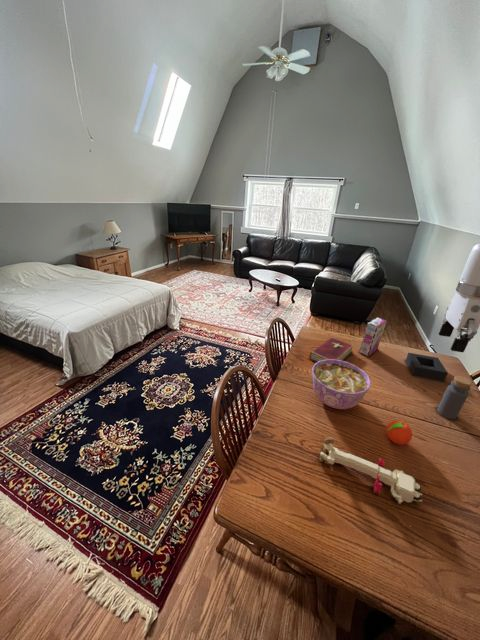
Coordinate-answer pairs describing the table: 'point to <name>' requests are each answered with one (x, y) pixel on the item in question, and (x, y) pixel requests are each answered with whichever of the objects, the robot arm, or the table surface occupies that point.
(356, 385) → the bowl of food
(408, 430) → the red tomato
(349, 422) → the table surface
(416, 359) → the holder
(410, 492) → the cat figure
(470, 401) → the table surface
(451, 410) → the bottle
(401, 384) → the table surface
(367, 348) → the candy bar box
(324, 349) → the hardcover book
